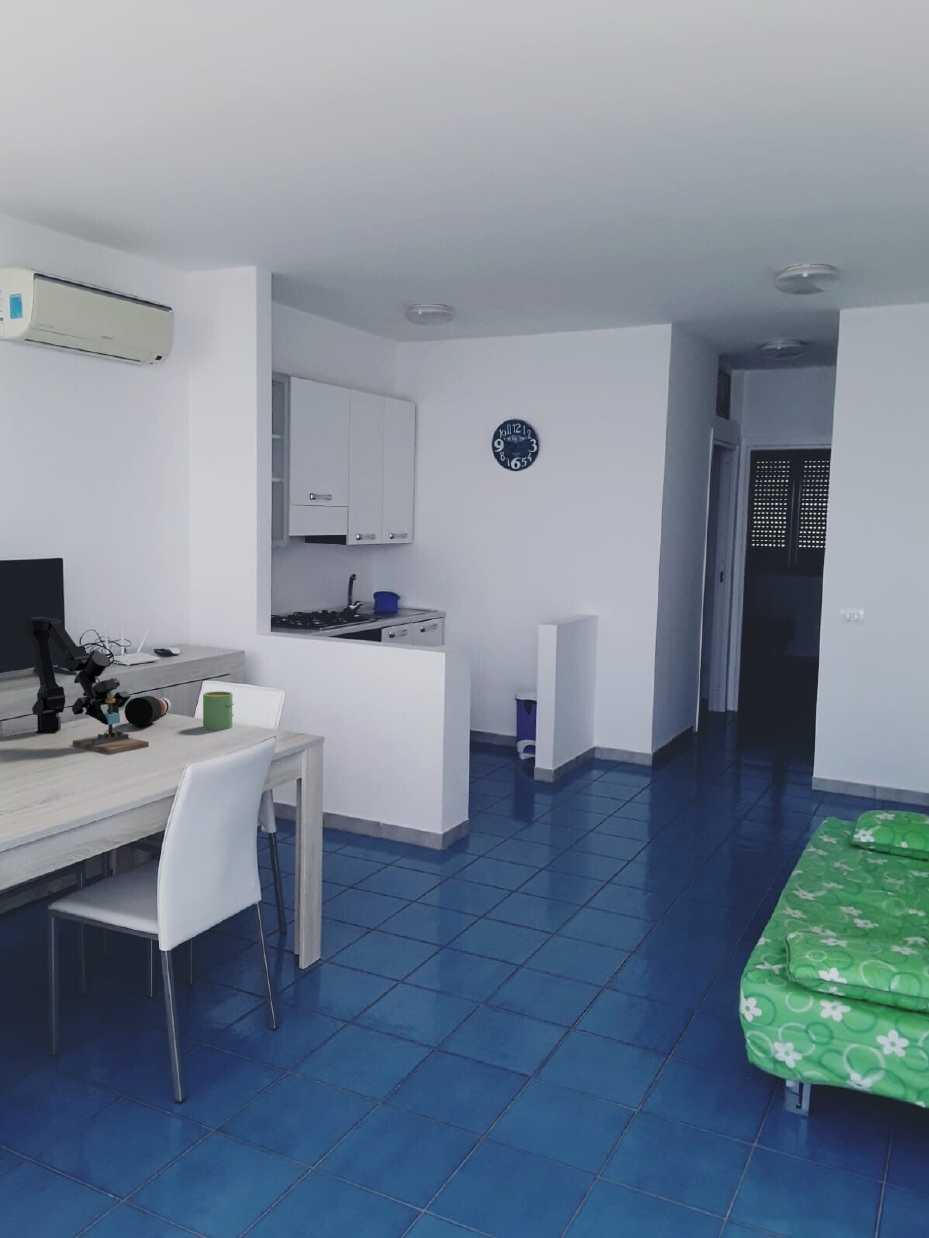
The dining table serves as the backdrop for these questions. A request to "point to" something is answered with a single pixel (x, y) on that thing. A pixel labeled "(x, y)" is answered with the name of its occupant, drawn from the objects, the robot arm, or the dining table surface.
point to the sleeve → (112, 718)
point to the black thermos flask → (146, 710)
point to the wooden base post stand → (111, 738)
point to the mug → (217, 710)
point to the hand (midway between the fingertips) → (113, 723)
